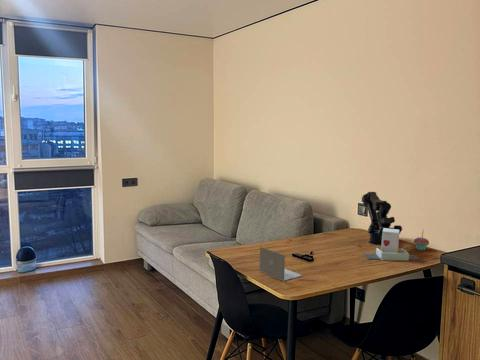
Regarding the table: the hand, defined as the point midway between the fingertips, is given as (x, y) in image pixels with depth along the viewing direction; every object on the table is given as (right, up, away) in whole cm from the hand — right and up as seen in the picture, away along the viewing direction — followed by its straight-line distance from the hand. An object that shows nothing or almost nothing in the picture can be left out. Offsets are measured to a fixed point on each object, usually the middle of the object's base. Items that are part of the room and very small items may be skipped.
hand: (387, 241), depth 253 cm
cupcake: (+24, -6, +11) cm, 27 cm away
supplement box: (0, -8, -4) cm, 9 cm away
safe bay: (0, -8, -7) cm, 11 cm away
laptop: (-66, -11, -37) cm, 76 cm away
